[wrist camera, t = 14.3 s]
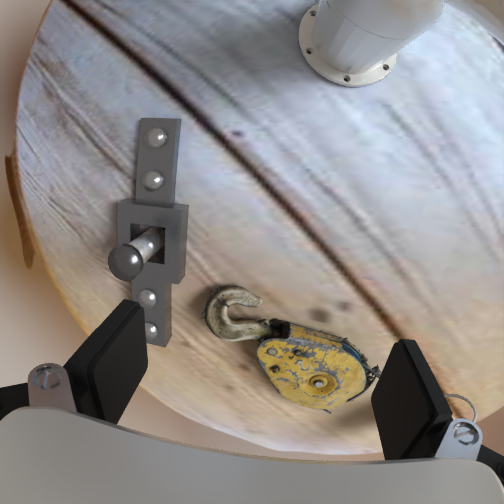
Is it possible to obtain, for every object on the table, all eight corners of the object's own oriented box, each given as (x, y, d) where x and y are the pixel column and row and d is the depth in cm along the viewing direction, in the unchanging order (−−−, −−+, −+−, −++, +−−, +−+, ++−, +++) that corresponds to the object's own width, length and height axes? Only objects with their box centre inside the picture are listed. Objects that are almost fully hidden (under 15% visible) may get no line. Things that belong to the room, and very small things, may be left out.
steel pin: (143, 221, 42) (107, 244, 32) (170, 224, 42) (139, 249, 32) (143, 248, 43) (109, 277, 34) (169, 252, 43) (139, 284, 34)
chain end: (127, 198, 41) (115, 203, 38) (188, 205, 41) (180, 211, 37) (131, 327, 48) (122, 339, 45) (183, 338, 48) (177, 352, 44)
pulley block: (237, 271, 36) (394, 393, 41) (248, 249, 41) (390, 366, 46) (177, 333, 43) (325, 429, 47) (191, 309, 48) (327, 404, 52)
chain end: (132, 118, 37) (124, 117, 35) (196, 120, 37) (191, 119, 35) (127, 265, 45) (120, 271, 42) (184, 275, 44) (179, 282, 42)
